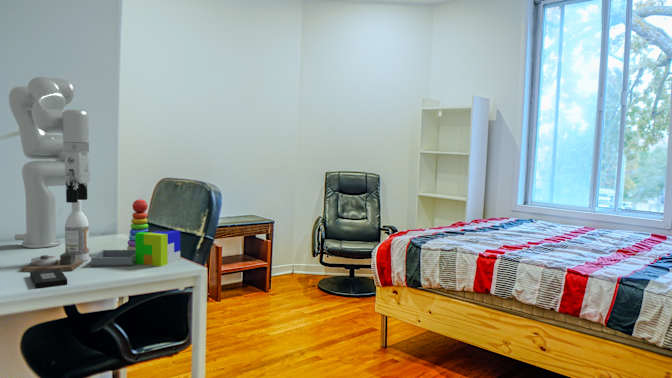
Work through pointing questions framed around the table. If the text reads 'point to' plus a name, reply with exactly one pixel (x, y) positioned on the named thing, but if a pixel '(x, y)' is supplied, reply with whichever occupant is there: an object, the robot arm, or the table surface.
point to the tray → (113, 258)
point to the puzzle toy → (157, 247)
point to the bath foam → (77, 233)
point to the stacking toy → (137, 222)
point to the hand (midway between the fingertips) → (77, 201)
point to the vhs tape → (48, 278)
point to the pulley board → (57, 266)
